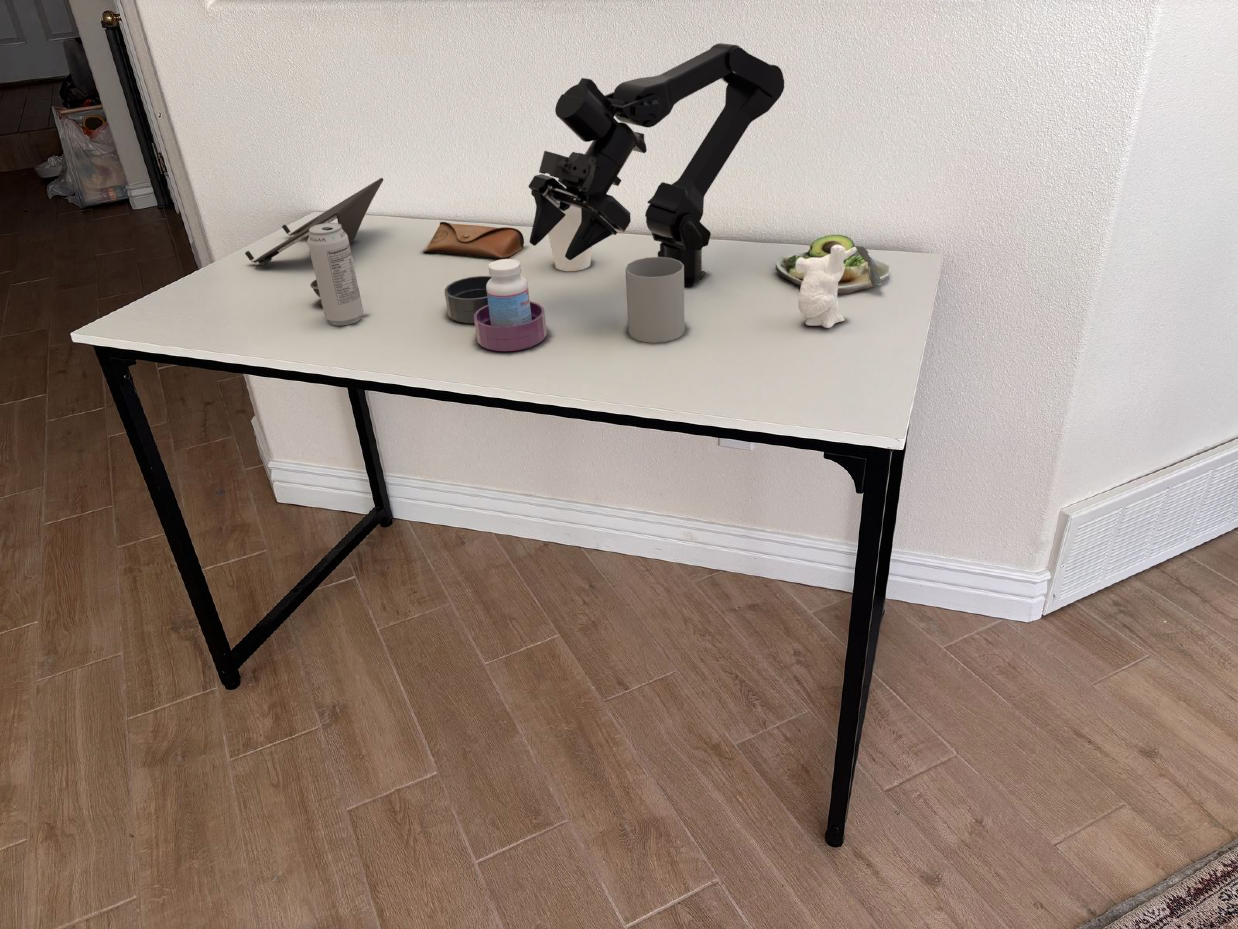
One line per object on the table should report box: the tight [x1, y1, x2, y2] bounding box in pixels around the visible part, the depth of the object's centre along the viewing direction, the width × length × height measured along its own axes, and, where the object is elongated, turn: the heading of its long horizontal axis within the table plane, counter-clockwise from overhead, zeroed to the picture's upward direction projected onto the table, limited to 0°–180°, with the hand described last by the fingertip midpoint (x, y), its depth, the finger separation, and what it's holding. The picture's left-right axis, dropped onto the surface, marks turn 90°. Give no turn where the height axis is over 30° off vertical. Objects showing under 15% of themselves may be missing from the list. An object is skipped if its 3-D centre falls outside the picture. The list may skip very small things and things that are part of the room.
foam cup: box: [547, 184, 593, 272], centre depth 161 cm, size 10×9×13 cm
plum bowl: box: [474, 300, 548, 352], centre depth 138 cm, size 10×10×4 cm
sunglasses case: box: [422, 221, 525, 259], centre depth 174 cm, size 18×7×7 cm
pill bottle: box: [486, 258, 532, 327], centre depth 136 cm, size 6×6×11 cm
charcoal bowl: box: [444, 275, 492, 324], centre depth 147 cm, size 10×10×4 cm
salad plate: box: [775, 234, 891, 295], centre depth 152 cm, size 19×18×5 cm
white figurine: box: [795, 245, 857, 329], centre depth 135 cm, size 8×7×12 cm
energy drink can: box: [307, 222, 364, 326], centre depth 145 cm, size 6×6×15 cm
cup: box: [624, 256, 686, 344], centre depth 136 cm, size 8×8×10 cm
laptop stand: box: [244, 177, 384, 266], centre depth 177 cm, size 23×23×9 cm
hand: (549, 251), depth 137 cm, fingers open, 9 cm apart
